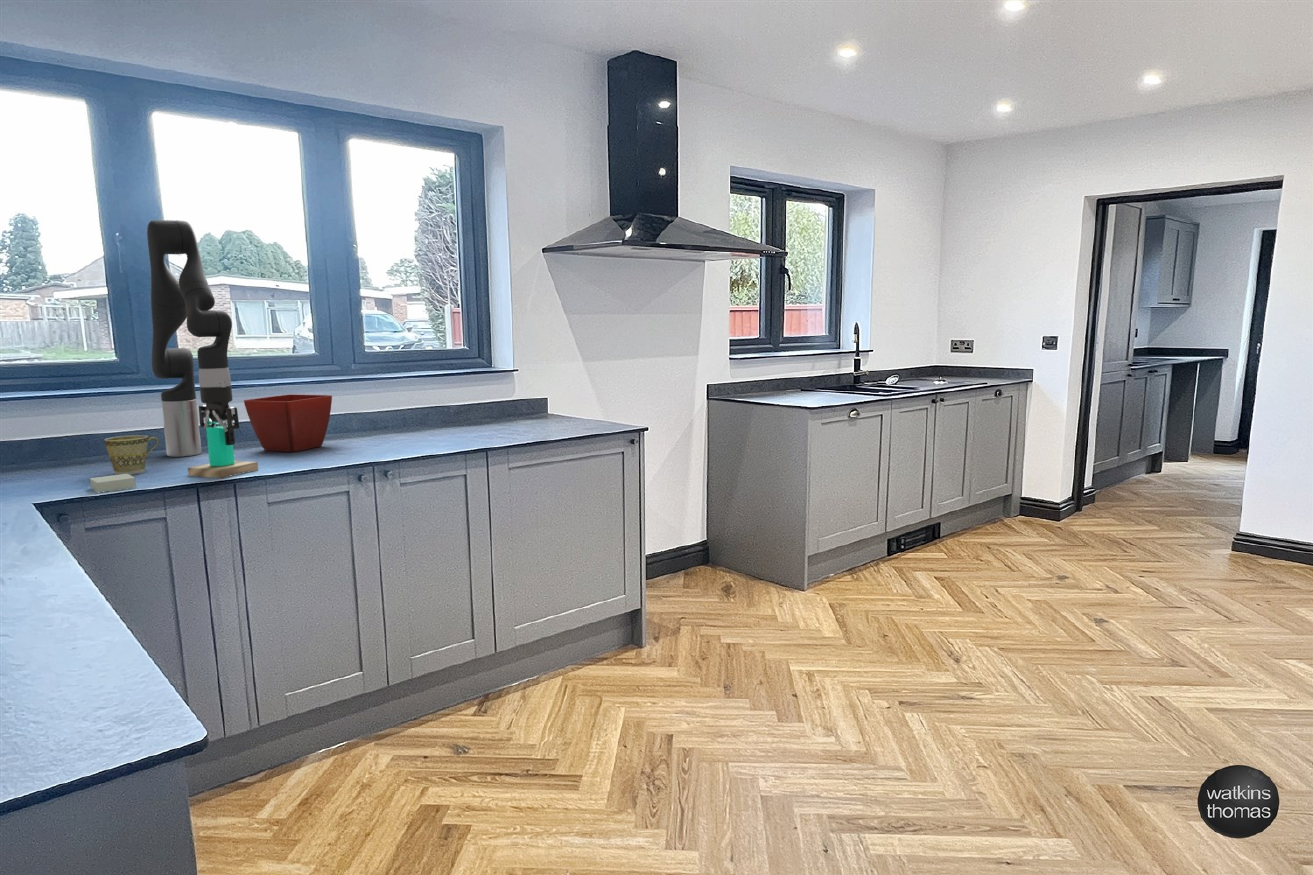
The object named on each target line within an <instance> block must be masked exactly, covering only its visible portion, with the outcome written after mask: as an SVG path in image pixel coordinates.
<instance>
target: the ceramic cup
mask: <svg viewBox="0 0 1313 875" xmlns="http://www.w3.org/2000/svg"><path fill="white" fill-rule="evenodd" d="M152 439H154V440H155V444H154V445H153V446H152V447H150V449H149V450H148V443H149V442H150V441H151V440H152ZM103 441H104V445H105V448H106V451H107V454H108V456H109V460H110V463H111V465H112V470H113V472H114V475H120V474H129V475H131V476H135V475H141V474H142V473H145V471H146V460H147V456H148V455H149V454H150V453H151V452H152V451H153V449H155V448H156V447H157V446H158V444H159V439H158V438H157V437H155V436H150V437H149V436H148V435H146V434H145V435H144V434H143V435H142V434H133V435H131V434H130V435H118V436H112V437H107V438H105V439H103Z"/></svg>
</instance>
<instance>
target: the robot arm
mask: <svg viewBox="0 0 1313 875" xmlns="http://www.w3.org/2000/svg"><path fill="white" fill-rule="evenodd" d="M146 236H147V245H148V246H147V247H148V254H149V265H150V307H151V308H150V309H151V310H150V311H151V320H152V323H151V324H152V346H151V347H152V348H151V369H152V372H153V375H154V376H155V377H156V378H157V379H161V380H162V379H163V380H164V379H165V380H166V379H181V381H180V382H179V383H177V385H175V386H174V387H171V388H167V389H166V390H162V392H161V393H160V398H161V406H162V415H163V416H162V418H163V423H164V424H163V432H164V441H165V450H166V455H167V457H172V458H173V457H176V458H177V457H188V456H195V455H201V454H202V453H201V452H202V444H201V443H202V441H201V434H200V432H201V431H200V427H201V428H203V429H204V430H205V434H206V436H207V432H206V427H217V426H216V425H217V424H218V423H219V426H222V427H223V428H224V430H225V432H224V433H225V443H226V445H233V446H234V445H235V443H236V440H235V431H236V430H238V429H240V423H239V415H238V414H239V413H238V408H237V406H230V404H229V403H231V402H233V388H232V381H231V380H232V379H231V373H230V369H229V360H228V351H229V350H228V348H229V343H230V337H231V332H232V327H233V326H232V325H233V321H232V318H231V316H230V314H229V313H227V311H224V310H214V309H213V308H214V307H215V305H216V300H215V297H214V295H213V292H212V290H211V288H210V285H209V282H208V279H207V277H206V274H205V270H204V265H203V262H202V261H203V260H202V256H201V253H200V249H199V245H198V240H197V237H196V234H195V231H194V229H193V227H192V225H191V223H190V222H188V221H185V220H173V219H172V220H171V219H170V220H169V219H167V220H165V219H164V220H161V219H157V220H156V219H154V220H151V221H149V222H148V224H147V232H146ZM166 255H186V262H185V265H184V266H183V269H182V270H181V273H180V275H179V277H178V278H177V277H176V276H175V275H174V274H173V272H172V271H171V270H170V269H169V266H168V265H167V263H166V259H165V256H166ZM212 309H213V310H212ZM185 321H186V328H187V330H188V332H189V333H190V334H191V335H192V336H194V337H197V338H212V337H213V338H215V339H214V341H213V343H211V344H207V345H204V346H200V347H199V348H198V349H197V361H198V362H197V363H198V383H199V384H198V385H199V393H200V401H201V403H203V404H202V405H201V404H200V405H197V396H196V385H195V366H194V365H195V364H194V363H195V362H194V355H193V352H192V351H191V349H189V348H187V347H175V348H174V347H173V348H172V347H170V348H167V346H168V344H169V341H171V340H170V339H171V338H172V336H173V335H174V334H175V333H176V332H177V331H178V330H179V329H180V327H181V326H182V325H183V324H184V322H185ZM227 426H228V427H227Z"/></svg>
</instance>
